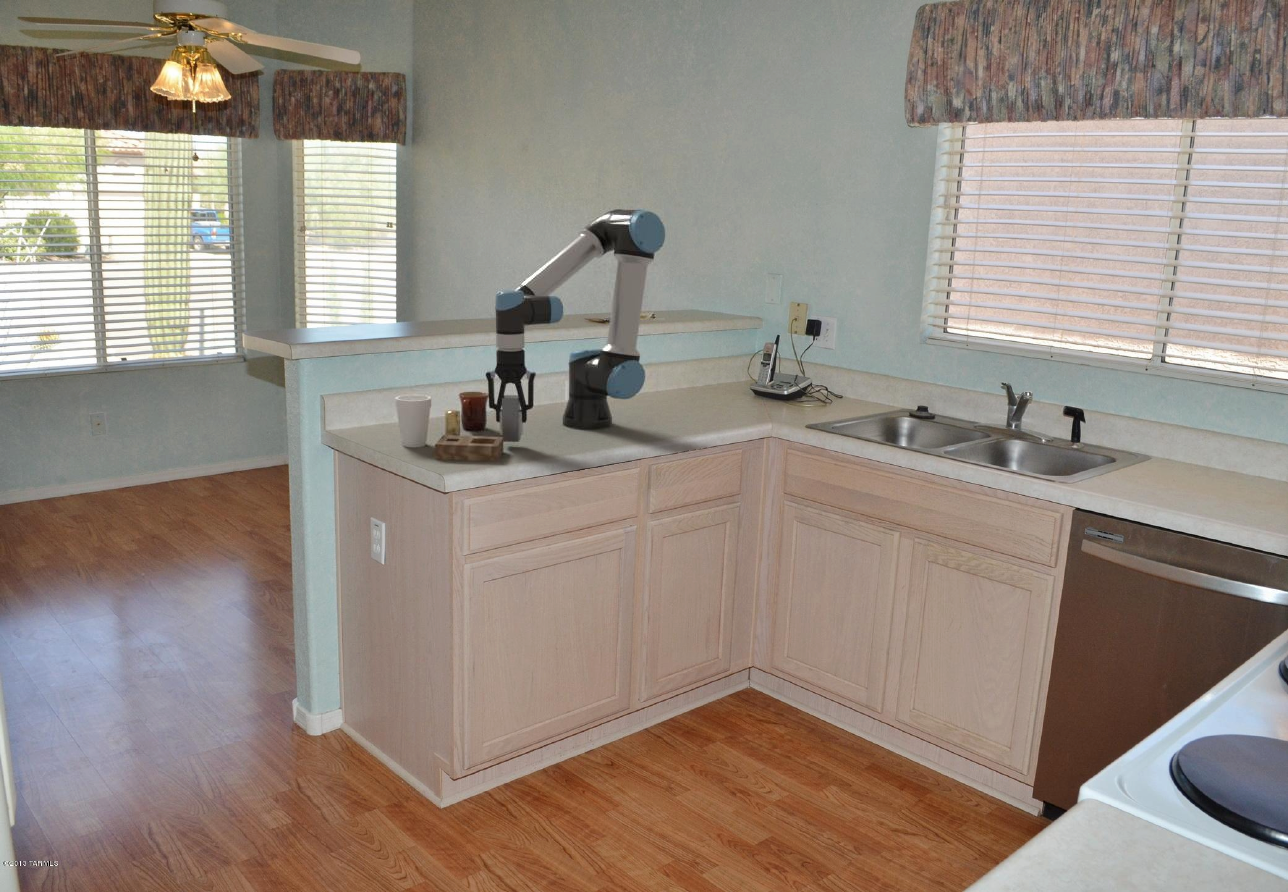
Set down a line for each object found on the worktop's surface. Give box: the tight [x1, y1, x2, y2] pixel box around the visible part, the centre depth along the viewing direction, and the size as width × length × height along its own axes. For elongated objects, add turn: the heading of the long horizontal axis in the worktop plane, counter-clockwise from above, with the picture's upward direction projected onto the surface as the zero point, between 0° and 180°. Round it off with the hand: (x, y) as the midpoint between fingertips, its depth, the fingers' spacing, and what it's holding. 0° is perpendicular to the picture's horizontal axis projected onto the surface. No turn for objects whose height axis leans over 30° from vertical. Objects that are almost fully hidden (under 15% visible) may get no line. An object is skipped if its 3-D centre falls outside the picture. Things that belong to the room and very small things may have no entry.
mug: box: [458, 391, 489, 431], centre depth 302 cm, size 12×9×10 cm
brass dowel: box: [444, 409, 461, 436], centre depth 284 cm, size 4×4×9 cm
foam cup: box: [394, 394, 432, 448], centre depth 281 cm, size 10×9×13 cm
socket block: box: [434, 434, 504, 462], centre depth 272 cm, size 16×11×4 cm
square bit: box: [501, 394, 522, 443], centre depth 281 cm, size 4×4×12 cm
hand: (511, 433), depth 282 cm, fingers closed on square bit, 4 cm apart
